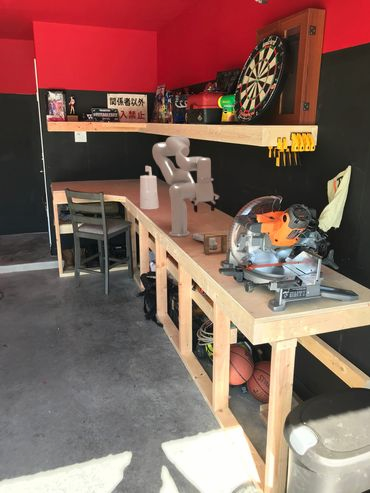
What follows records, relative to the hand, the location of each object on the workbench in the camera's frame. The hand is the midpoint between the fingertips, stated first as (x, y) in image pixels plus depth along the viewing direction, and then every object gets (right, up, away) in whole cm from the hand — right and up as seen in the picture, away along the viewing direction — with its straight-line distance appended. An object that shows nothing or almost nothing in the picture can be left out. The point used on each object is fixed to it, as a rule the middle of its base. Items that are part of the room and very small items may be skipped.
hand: (204, 211), depth 238 cm
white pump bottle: (-40, +12, +110) cm, 117 cm away
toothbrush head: (0, -19, +6) cm, 20 cm away
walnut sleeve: (+5, -23, -11) cm, 26 cm away
